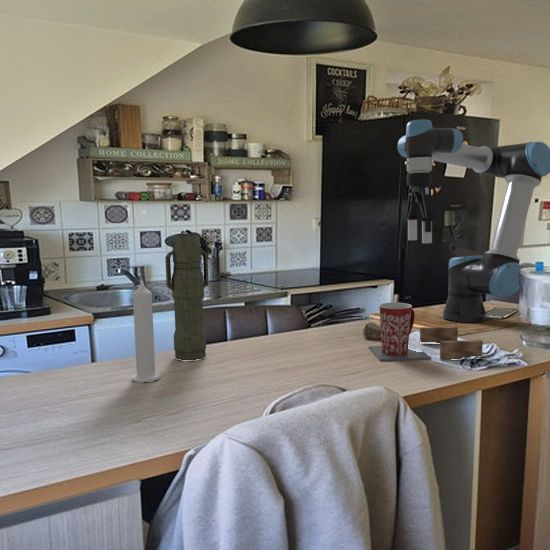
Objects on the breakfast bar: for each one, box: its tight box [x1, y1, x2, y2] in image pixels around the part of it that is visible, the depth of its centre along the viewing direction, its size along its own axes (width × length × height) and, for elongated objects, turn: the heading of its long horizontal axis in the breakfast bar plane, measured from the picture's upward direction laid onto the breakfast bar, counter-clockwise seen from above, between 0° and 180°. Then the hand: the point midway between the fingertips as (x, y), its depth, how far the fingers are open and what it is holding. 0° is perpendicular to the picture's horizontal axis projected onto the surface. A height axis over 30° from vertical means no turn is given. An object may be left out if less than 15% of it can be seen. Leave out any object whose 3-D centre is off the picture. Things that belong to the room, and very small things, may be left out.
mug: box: [378, 301, 415, 355], centre depth 156 cm, size 13×9×14 cm
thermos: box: [165, 233, 210, 360], centre depth 155 cm, size 9×12×35 cm
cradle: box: [419, 325, 484, 362], centre depth 158 cm, size 11×19×5 cm, turn 3°
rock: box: [362, 322, 381, 340], centre depth 178 cm, size 9×6×10 cm
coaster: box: [368, 345, 432, 362], centre depth 157 cm, size 14×14×1 cm
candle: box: [131, 279, 162, 384], centre depth 136 cm, size 7×7×25 cm
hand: (419, 241), depth 172 cm, fingers open, 13 cm apart
